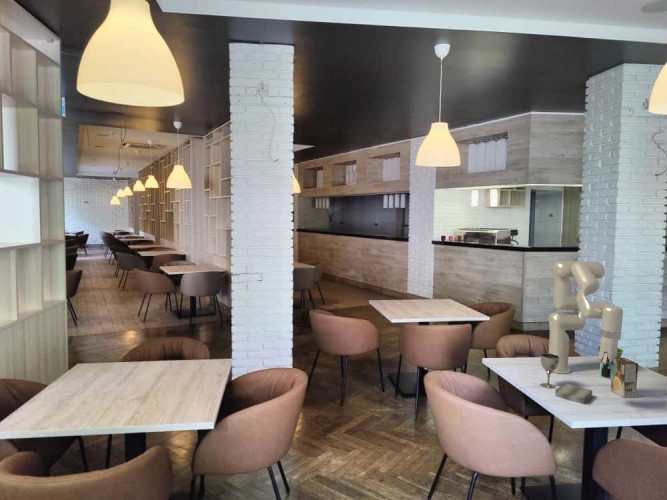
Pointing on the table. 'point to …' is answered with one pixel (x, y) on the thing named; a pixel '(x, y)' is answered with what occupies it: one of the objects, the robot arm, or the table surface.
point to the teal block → (612, 371)
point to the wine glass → (549, 367)
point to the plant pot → (619, 353)
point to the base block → (573, 393)
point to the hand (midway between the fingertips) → (607, 374)
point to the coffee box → (625, 378)
